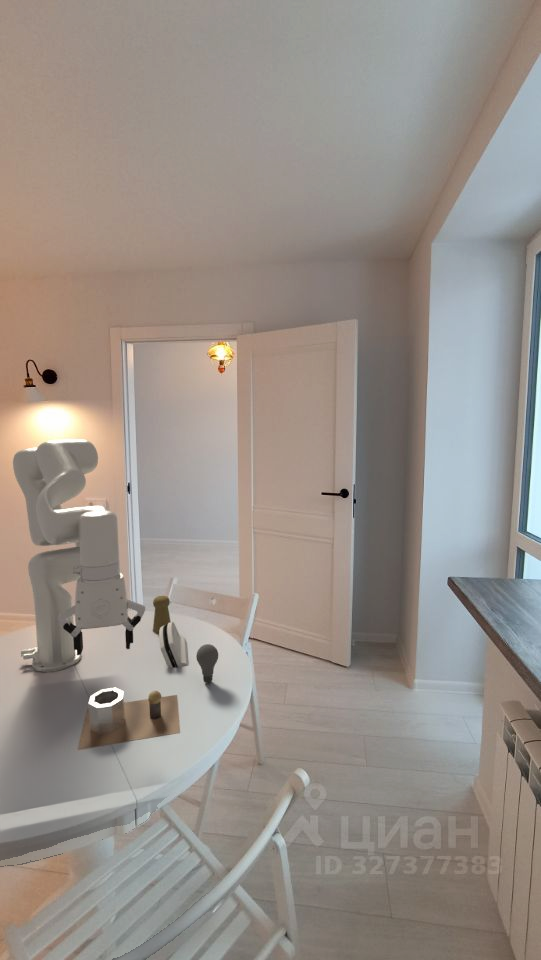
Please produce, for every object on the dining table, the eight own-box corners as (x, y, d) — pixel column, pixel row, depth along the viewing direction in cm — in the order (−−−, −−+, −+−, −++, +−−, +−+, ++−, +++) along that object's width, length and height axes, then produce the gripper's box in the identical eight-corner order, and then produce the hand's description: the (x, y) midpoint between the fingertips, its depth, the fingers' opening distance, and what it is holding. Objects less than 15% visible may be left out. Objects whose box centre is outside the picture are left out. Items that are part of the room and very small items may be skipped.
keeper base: (77, 756, 89) (75, 722, 88) (88, 714, 103) (86, 684, 102) (180, 739, 94) (179, 707, 93) (177, 700, 108) (176, 672, 107)
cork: (149, 633, 144) (148, 600, 143) (157, 625, 150) (156, 593, 149) (167, 634, 143) (166, 601, 142) (174, 626, 149) (173, 594, 148)
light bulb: (221, 686, 114) (220, 648, 113) (199, 690, 112) (198, 652, 111) (216, 674, 119) (215, 638, 118) (195, 679, 117) (194, 642, 116)
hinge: (188, 670, 121) (174, 638, 120) (172, 677, 121) (157, 645, 119) (186, 641, 138) (174, 613, 136) (172, 648, 137) (159, 620, 135)
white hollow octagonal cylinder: (88, 736, 93) (87, 709, 92) (93, 716, 99) (91, 690, 99) (123, 730, 95) (121, 704, 94) (125, 711, 101) (124, 686, 100)
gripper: (51, 580, 88) (56, 663, 89) (143, 572, 92) (146, 652, 94) (59, 569, 95) (63, 646, 97) (144, 562, 99) (147, 636, 101)
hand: (104, 649), depth 95 cm, fingers open, 9 cm apart
